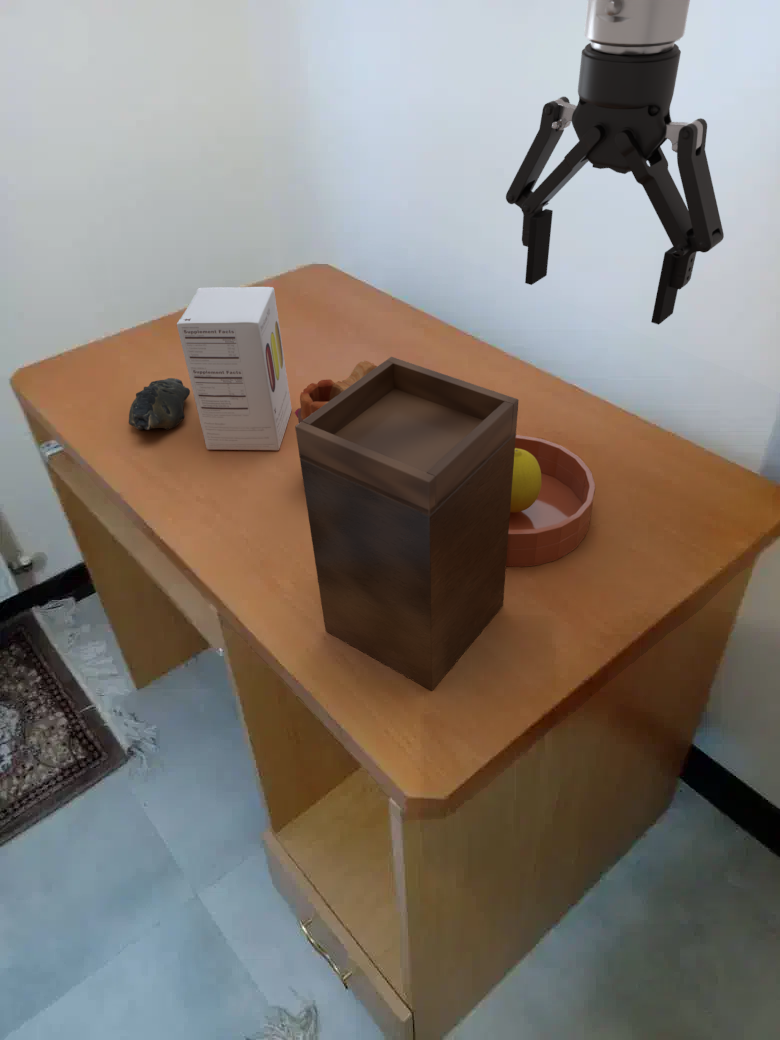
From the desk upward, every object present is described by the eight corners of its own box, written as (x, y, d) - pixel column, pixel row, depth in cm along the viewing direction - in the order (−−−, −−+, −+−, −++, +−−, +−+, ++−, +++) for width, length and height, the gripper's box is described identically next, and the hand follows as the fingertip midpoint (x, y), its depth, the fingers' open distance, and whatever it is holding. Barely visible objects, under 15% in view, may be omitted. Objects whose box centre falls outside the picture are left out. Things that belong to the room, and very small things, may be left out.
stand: (503, 605, 75) (516, 431, 62) (431, 691, 68) (429, 516, 55) (400, 556, 80) (392, 387, 67) (325, 631, 73) (299, 458, 60)
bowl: (615, 499, 86) (621, 466, 83) (543, 589, 76) (547, 556, 73) (486, 451, 93) (487, 419, 90) (406, 527, 84) (405, 494, 81)
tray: (516, 431, 62) (518, 399, 60) (429, 516, 55) (429, 482, 53) (392, 387, 67) (391, 356, 65) (299, 458, 60) (294, 426, 58)
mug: (328, 511, 86) (316, 413, 78) (289, 484, 90) (274, 388, 82) (409, 461, 92) (406, 365, 84) (369, 437, 96) (363, 344, 88)
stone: (201, 388, 107) (193, 352, 103) (177, 444, 97) (167, 407, 93) (152, 388, 107) (142, 353, 104) (122, 445, 97) (111, 408, 94)
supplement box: (280, 452, 95) (258, 323, 84) (205, 451, 96) (173, 324, 84) (293, 407, 102) (275, 284, 91) (223, 407, 103) (196, 285, 92)
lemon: (478, 500, 86) (480, 440, 81) (524, 489, 87) (530, 429, 82) (498, 533, 82) (502, 472, 77) (547, 520, 83) (554, 459, 78)
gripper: (473, 35, 66) (467, 277, 80) (773, 73, 53) (703, 353, 67) (524, 19, 70) (510, 252, 84) (814, 50, 57) (740, 319, 71)
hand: (596, 298), depth 76 cm, fingers open, 13 cm apart
